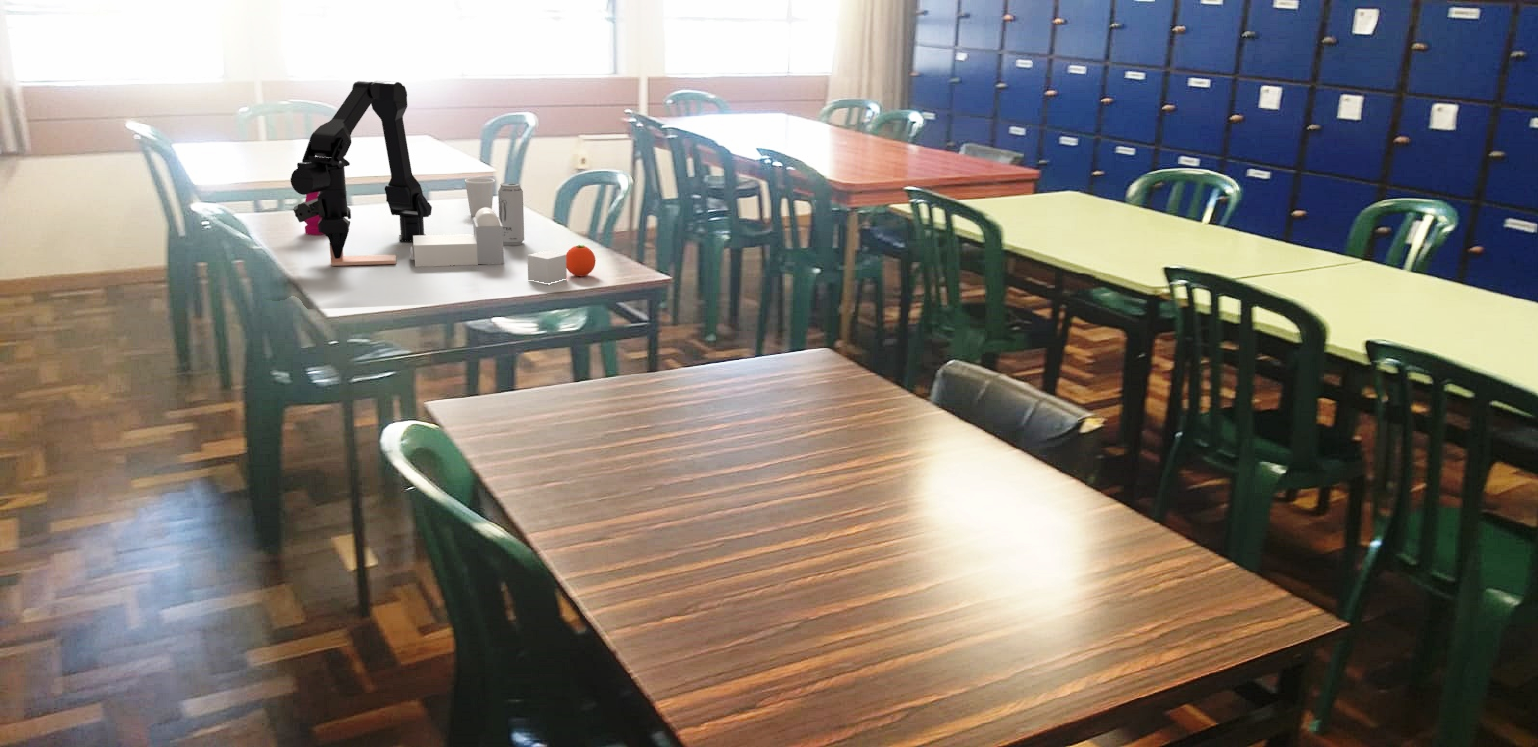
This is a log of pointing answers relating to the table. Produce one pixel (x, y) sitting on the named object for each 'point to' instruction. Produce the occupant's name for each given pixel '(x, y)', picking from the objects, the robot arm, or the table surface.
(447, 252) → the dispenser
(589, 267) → the clementine
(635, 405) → the table surface
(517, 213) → the energy drink can
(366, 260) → the l-shaped wooden bracket
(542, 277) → the grey cube
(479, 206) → the dixie cup
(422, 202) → the robot arm
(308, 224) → the pepper mill
